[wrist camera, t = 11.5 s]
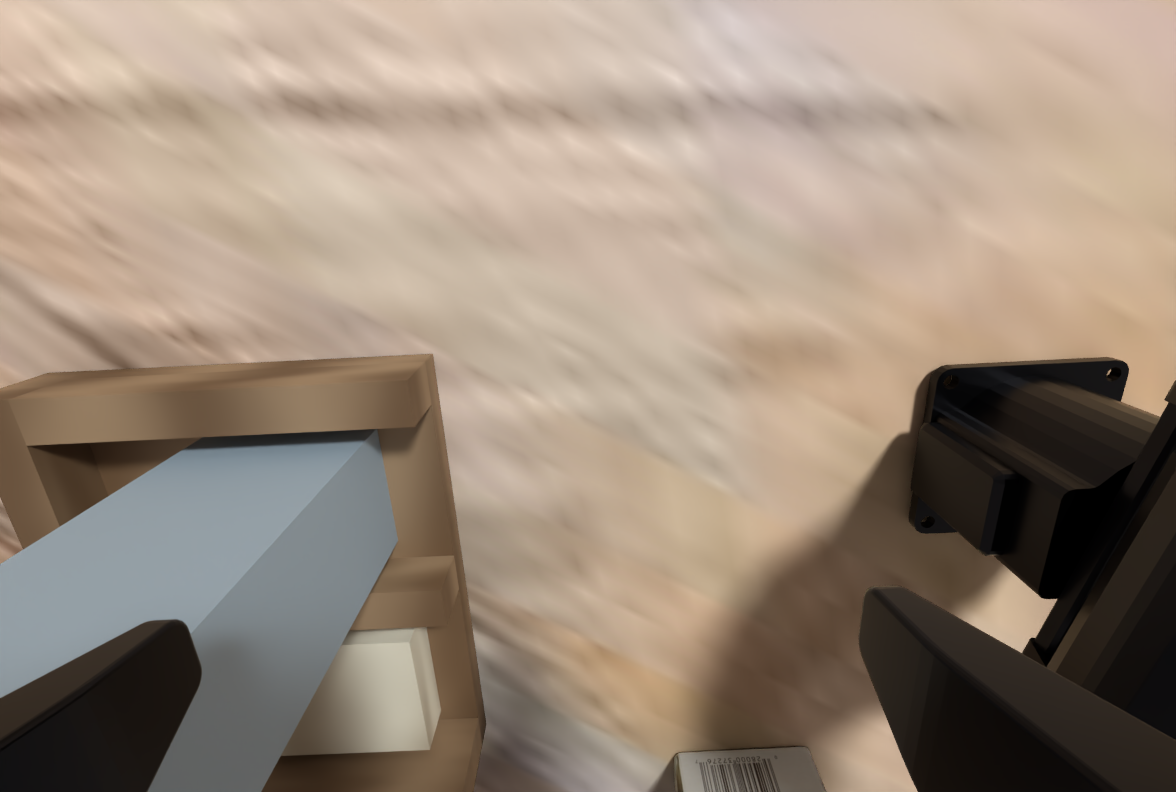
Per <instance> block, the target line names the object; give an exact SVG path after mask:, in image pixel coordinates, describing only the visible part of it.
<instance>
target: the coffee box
mask: <svg viewBox="0 0 1176 792" xmlns="http://www.w3.org/2000/svg"><path fill="white" fill-rule="evenodd" d="M674 780H675V792H826V790H825V787H824V785H823V783H822V780H821V778H820V775H819V773H818V770H817V768H816V765H815V763H814V761H813V758H812V756H811V753H810V751H809V749H808V748H807V747H787V748H767V749H746V750H727V751H705V752H682V753H678V754H677V755H676V756H675V757H674Z"/></svg>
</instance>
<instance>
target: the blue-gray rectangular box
mask: <svg viewBox="0 0 1176 792" xmlns="http://www.w3.org/2000/svg"><path fill="white" fill-rule="evenodd" d="M397 542H398V537H397V532H396V527H395V521H394V516H393V511H392V505H391V500H390V495H389V489H388V484H387V479H386V473H385V468H384V463H383V457H382V452H381V447H380V441H379V436H378V431H377V429H364V430H343V431H322V432H302V433H281V434H260V435H239V436H218V437H202V438H201V439H199V440H197V441H196V442H194V443H193V444H191V445H189V446H188V447H186V448H185V449H183V450H181V451H180V452H178V453H177V454H175V455H173V456H172V457H170V458H169V459H167V460H165V461H164V462H162V463H161V464H159V465H157V466H156V467H154V468H153V469H151V470H149V471H148V472H146V473H145V474H143V475H142V476H140V477H138V478H137V479H135V480H134V481H132V482H130V483H129V484H127V485H126V486H124V487H122V488H121V489H119V490H118V491H116V492H114V493H113V494H111V495H110V496H108V497H106V498H105V499H103V500H102V501H100V502H98V503H97V504H95V505H94V506H92V507H90V508H89V509H87V510H86V511H84V512H82V513H81V514H79V515H78V516H76V517H75V518H73V519H71V520H70V521H68V522H67V523H65V524H63V525H62V526H60V527H59V528H57V529H55V530H54V531H52V532H51V533H49V534H47V535H46V536H44V537H43V538H41V539H39V540H38V541H36V542H35V543H33V544H31V545H30V546H28V547H27V548H25V549H23V550H22V551H20V552H19V553H17V554H15V555H14V556H12V557H11V558H9V559H8V560H6V561H4V562H3V563H1V564H0V698H1V697H3V696H5V695H7V694H9V693H11V692H12V691H14V690H16V689H18V688H20V687H22V686H24V685H26V684H28V683H30V682H32V681H33V680H35V679H37V678H39V677H41V676H43V675H45V674H47V673H49V672H51V671H52V670H54V669H56V668H58V667H60V666H62V665H64V664H66V663H68V662H70V661H71V660H73V659H75V658H77V657H79V656H81V655H83V654H85V653H87V652H89V651H91V650H92V649H94V648H96V647H98V646H100V645H102V644H104V643H106V642H108V641H110V640H111V639H113V638H115V637H117V636H119V635H121V634H123V633H125V632H127V631H129V630H130V629H132V628H134V627H136V626H138V625H140V624H142V623H144V622H147V621H151V620H167V619H178V620H182V621H183V622H184V623H185V624H186V625H187V626H188V628H189V631H190V634H191V637H192V640H193V643H194V646H195V648H196V651H197V654H198V657H199V660H200V663H201V666H202V678H201V682H200V686H199V688H198V690H197V692H196V694H195V696H194V698H193V701H192V703H191V705H190V707H189V709H188V711H187V713H186V715H185V717H184V719H183V721H182V723H181V725H180V727H179V729H178V731H177V733H176V735H175V737H174V739H173V741H172V743H171V745H170V747H169V749H168V751H167V753H166V755H165V757H164V759H163V761H162V763H161V766H160V768H159V770H158V772H157V774H156V776H155V778H154V780H153V782H152V784H151V786H150V788H149V790H148V792H261V791H262V789H263V787H264V786H265V784H266V782H267V780H268V778H269V776H270V775H271V773H272V771H273V769H274V767H275V765H276V764H277V762H278V760H279V758H280V756H281V754H282V753H283V751H284V749H285V747H286V745H287V743H288V742H289V740H290V738H291V736H292V734H293V732H294V731H295V729H296V727H297V725H298V723H299V721H300V720H301V718H302V716H303V714H304V712H305V710H306V709H307V707H308V705H309V703H310V701H311V699H312V698H313V696H314V694H315V692H316V690H317V688H318V687H319V685H320V683H321V681H322V679H323V677H324V676H325V674H326V672H327V670H328V668H329V666H330V665H331V663H332V661H333V659H334V657H335V655H336V654H337V652H338V650H339V648H340V646H341V644H342V643H343V641H344V639H345V637H346V635H347V633H348V632H349V630H350V628H351V626H352V624H353V622H354V621H355V619H356V617H357V615H358V613H359V611H360V610H361V608H362V606H363V604H364V602H365V600H366V599H367V597H368V595H369V593H370V591H371V589H372V588H373V586H374V584H375V582H376V580H377V578H378V577H379V575H380V573H381V571H382V569H383V567H384V566H385V564H386V562H387V560H388V558H389V556H390V555H391V553H392V551H393V549H394V547H395V545H396V544H397Z"/></svg>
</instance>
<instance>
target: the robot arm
mask: <svg viewBox="0 0 1176 792" xmlns="http://www.w3.org/2000/svg"><path fill="white" fill-rule="evenodd" d="M1110 369H1111V372H1110V374H1109V375H1108V376H1106V374H1107V372H1108V371H1109V370H1110ZM1128 373H1129V368H1128V365H1127V364H1126V363H1125V362H1123V361H1121V360H1118V359H1114V358H1109V357H1100V358H1080V359H1059V360H1039V361H1019V362H998V363H978V364H957V365H945V366H941V367H939V368H937V369H936V370H935V371H934V372H933V374H932V375H931V378H930V383H929V389H928V396H927V402H926V409H925V415H924V422H923V425H922V427H921V428H920V430H919V435H918V442H917V448H916V455H915V461H914V468H913V475H912V481H911V490H912V491H913V493H912V499H911V506H910V512H909V522H910V524H911V525H912V526H913V527H914V528H915V529H916V530H917V531H918V532H920V533H925V534H928V533H950V532H958V533H959V534H960V535H962V536H963V537H964V538H965V539H966V540H967V541H968V542H969V543H970V544H972V545H973V546H974V547H975V548H976V549H977V550H978V551H979V552H980V553H982V554H983V555H985V556H994V557H996V558H997V559H998V560H999V561H1000V562H1001V563H1002V564H1003V565H1005V566H1006V567H1007V568H1008V569H1009V570H1010V571H1011V572H1013V573H1014V574H1015V575H1016V576H1017V577H1018V578H1019V579H1021V580H1022V581H1023V582H1024V583H1025V584H1026V585H1027V586H1029V587H1030V588H1031V589H1032V590H1033V591H1034V592H1035V593H1036V594H1038V595H1039V596H1040V597H1041V598H1044V599H1057V601H1056V603H1055V605H1054V606H1053V608H1052V610H1051V612H1050V613H1049V615H1048V617H1047V619H1046V621H1045V622H1044V624H1043V626H1042V628H1041V629H1040V631H1039V633H1038V635H1037V636H1036V638H1031V639H1030V640H1029V642H1028V643H1027V645H1026V647H1025V649H1024V650H1023V652H1022V653H1020V652H1018V651H1017V650H1015V649H1013V648H1011V647H1009V646H1008V645H1006V644H1004V643H1002V642H1000V641H999V640H997V639H995V638H993V637H992V636H990V635H988V634H986V633H984V632H983V631H981V630H979V629H977V628H976V627H974V626H972V625H970V624H968V623H967V622H965V621H963V620H961V619H959V618H958V617H956V616H954V615H952V614H951V613H949V612H947V611H945V610H943V609H942V608H940V607H938V606H936V605H935V604H933V603H931V602H929V601H927V600H926V599H924V598H922V597H920V596H918V595H917V594H915V593H913V592H911V591H910V590H908V589H906V588H904V587H902V586H897V585H892V586H873V587H870V588H868V589H867V590H866V592H865V595H864V599H863V607H862V615H861V622H860V630H859V647H860V652H861V655H862V658H863V661H864V663H865V666H866V668H867V671H868V673H869V676H870V678H871V681H872V683H873V686H874V688H875V691H876V693H877V696H878V698H879V701H880V703H881V706H882V708H883V710H884V713H885V715H886V718H887V720H888V723H889V725H890V728H891V730H892V733H893V735H894V738H895V740H896V743H897V745H898V748H899V750H900V753H901V755H902V758H903V760H904V762H905V765H906V767H907V769H908V772H909V774H910V776H911V778H912V780H913V783H914V785H915V787H916V789H917V791H918V792H1176V380H1175V382H1174V384H1173V385H1172V387H1171V389H1170V391H1169V392H1168V394H1167V396H1166V398H1165V401H1168V402H1169V403H1168V405H1167V407H1166V408H1165V410H1164V412H1163V414H1162V415H1161V417H1159V416H1156V415H1154V414H1151V413H1148V412H1146V411H1143V410H1141V409H1138V408H1135V407H1133V406H1130V405H1128V404H1125V403H1122V402H1121V399H1122V395H1123V392H1124V388H1125V385H1126V381H1127V377H1128ZM951 375H952V379H951V382H950V383H949V384H947V385H944V381H945V379H946V378H947V377H948V376H951ZM927 516H929V517H928V519H927V520H926V521H924V522H921V521H922V519H923V518H925V517H927ZM201 678H202V666H201V663H200V660H199V657H198V654H197V651H196V648H195V646H194V643H193V640H192V637H191V634H190V631H189V628H188V626H187V625H186V624H185V623H184V622H183V621H182V620H178V619H167V620H151V621H147V622H144V623H142V624H140V625H138V626H136V627H134V628H132V629H130V630H129V631H127V632H125V633H123V634H121V635H119V636H117V637H115V638H113V639H111V640H110V641H108V642H106V643H104V644H102V645H100V646H98V647H96V648H94V649H92V650H91V651H89V652H87V653H85V654H83V655H81V656H79V657H77V658H75V659H73V660H71V661H70V662H68V663H66V664H64V665H62V666H60V667H58V668H56V669H54V670H52V671H51V672H49V673H47V674H45V675H43V676H41V677H39V678H37V679H35V680H33V681H32V682H30V683H28V684H26V685H24V686H22V687H20V688H18V689H16V690H14V691H12V692H11V693H9V694H7V695H5V696H3V697H1V698H0V792H148V790H149V788H150V786H151V784H152V782H153V780H154V778H155V776H156V774H157V772H158V770H159V768H160V766H161V763H162V761H163V759H164V757H165V755H166V753H167V751H168V749H169V747H170V745H171V743H172V741H173V739H174V737H175V735H176V733H177V731H178V729H179V727H180V725H181V723H182V721H183V719H184V717H185V715H186V713H187V711H188V709H189V707H190V705H191V703H192V701H193V698H194V696H195V694H196V692H197V690H198V688H199V686H200V682H201Z"/></svg>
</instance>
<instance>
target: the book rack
mask: <svg viewBox="0 0 1176 792" xmlns="http://www.w3.org/2000/svg"><path fill="white" fill-rule="evenodd" d="M364 429H377V431H378V436H379V441H380V447H381V452H382V457H383V463H384V468H385V473H386V479H387V484H388V489H389V495H390V500H391V505H392V511H393V516H394V521H395V527H396V532H397V537H398V542H397V544H396V545H395V547H394V549H393V551H392V553H391V555H390V556H389V558H388V560H387V562H386V564H385V566H384V567H383V569H382V571H381V573H380V575H379V577H378V578H377V580H376V582H375V584H374V586H373V588H372V589H371V591H370V593H369V595H368V597H367V599H366V600H365V602H364V604H363V606H362V608H361V610H360V611H359V613H358V615H357V617H356V619H355V621H354V622H353V624H352V626H351V628H350V630H349V632H348V633H347V635H346V637H345V639H344V641H343V643H342V644H341V646H340V648H339V650H338V652H337V654H336V655H335V657H334V659H333V661H332V663H331V665H330V666H329V668H328V670H327V672H326V674H325V676H324V677H323V679H322V681H321V683H320V685H319V687H318V688H317V690H316V692H315V694H314V696H313V698H312V699H311V701H310V703H309V705H308V707H307V709H306V710H305V712H304V714H303V716H302V718H301V720H300V721H299V723H298V725H297V727H296V729H295V731H294V732H293V734H292V736H291V738H290V740H289V742H288V743H287V745H286V747H285V749H284V751H283V753H282V754H281V756H280V758H279V760H278V762H277V764H276V765H275V767H274V769H273V771H272V773H271V775H270V776H269V778H268V780H267V782H266V784H265V786H264V787H263V789H262V791H261V792H473V791H474V786H475V780H476V775H477V770H478V765H479V759H480V754H481V749H482V743H483V738H484V733H485V727H486V720H485V713H484V706H483V699H482V692H481V685H480V678H479V671H478V664H477V657H476V650H475V643H474V637H473V630H472V623H471V616H470V609H469V602H468V595H467V588H466V581H465V574H464V567H463V560H462V553H461V546H460V540H459V533H458V526H457V519H456V512H455V505H454V498H453V491H452V484H451V477H450V470H449V463H448V456H447V450H446V443H445V436H444V429H443V422H442V415H441V408H440V401H439V394H438V387H437V380H436V373H435V366H434V359H433V354H422V355H402V356H382V357H361V358H341V359H321V360H301V361H281V362H261V363H241V364H221V365H201V366H180V367H160V368H140V369H120V370H100V371H80V372H60V373H47V374H43V375H40V376H37V377H34V378H31V379H28V380H25V381H22V382H19V383H16V384H13V385H10V386H7V387H4V388H1V389H0V498H1V500H2V502H3V505H4V507H5V509H6V511H7V514H8V516H9V518H10V520H11V523H12V525H13V527H14V530H15V532H16V534H17V536H18V539H19V541H20V543H21V545H22V548H23V549H25V548H27V547H28V546H30V545H31V544H33V543H35V542H36V541H38V540H39V539H41V538H43V537H44V536H46V535H47V534H49V533H51V532H52V531H54V530H55V529H57V528H59V527H60V526H62V525H63V524H65V523H67V522H68V521H70V520H71V519H73V518H75V517H76V516H78V515H79V514H81V513H82V512H84V511H86V510H87V509H89V508H90V507H92V506H94V505H95V504H97V503H98V502H100V501H102V500H103V499H105V498H106V497H108V496H110V495H111V494H113V493H114V492H116V491H118V490H119V489H121V488H122V487H124V486H126V485H127V484H129V483H130V482H132V481H134V480H135V479H137V478H138V477H140V476H142V475H143V474H145V473H146V472H148V471H149V470H151V469H153V468H154V467H156V466H157V465H159V464H161V463H162V462H164V461H165V460H167V459H169V458H170V457H172V456H173V455H175V454H177V453H178V452H180V451H181V450H183V449H185V448H186V447H188V446H189V445H191V444H193V443H194V442H196V441H197V440H199V439H201V438H202V437H218V436H239V435H260V434H281V433H302V432H322V431H343V430H364Z"/></svg>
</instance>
